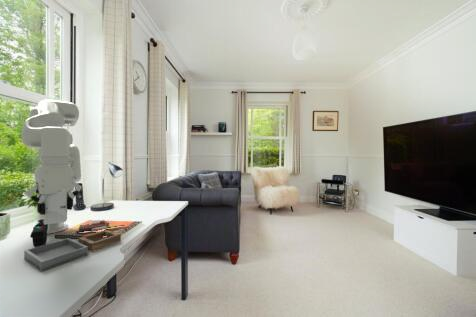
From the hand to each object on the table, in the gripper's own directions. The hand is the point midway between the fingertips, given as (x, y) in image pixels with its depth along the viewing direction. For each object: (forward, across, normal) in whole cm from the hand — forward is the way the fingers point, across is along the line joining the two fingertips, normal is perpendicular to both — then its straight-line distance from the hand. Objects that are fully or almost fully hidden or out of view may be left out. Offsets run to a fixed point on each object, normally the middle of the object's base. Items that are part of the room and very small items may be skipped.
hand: (56, 211), depth 76 cm
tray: (+16, 0, 0) cm, 16 cm away
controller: (+17, 0, -16) cm, 23 cm away
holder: (+16, -14, +1) cm, 22 cm away
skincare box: (+4, 0, 0) cm, 4 cm away
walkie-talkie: (+17, -23, -16) cm, 33 cm away
